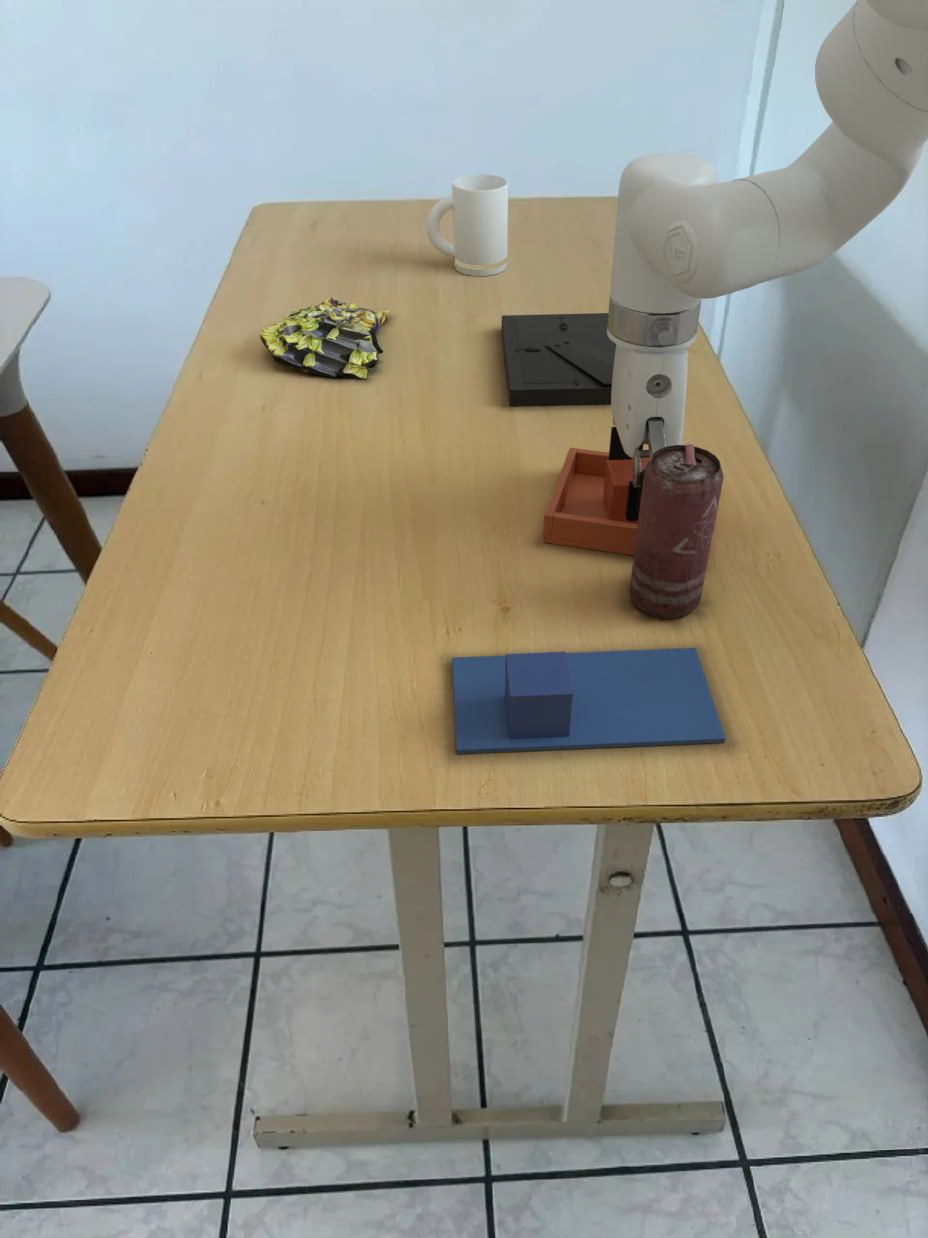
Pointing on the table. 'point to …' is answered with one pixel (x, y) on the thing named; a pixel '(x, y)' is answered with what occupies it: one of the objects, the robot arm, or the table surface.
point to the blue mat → (595, 702)
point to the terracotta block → (618, 487)
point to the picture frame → (558, 359)
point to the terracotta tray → (585, 508)
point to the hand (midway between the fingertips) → (633, 489)
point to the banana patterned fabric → (327, 339)
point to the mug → (474, 223)
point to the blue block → (538, 695)
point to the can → (675, 530)
